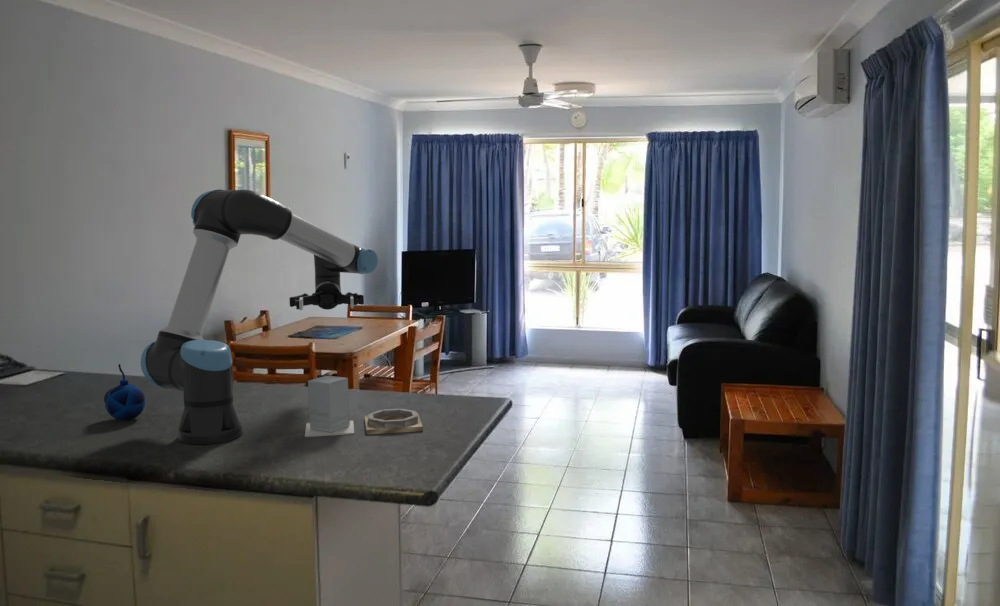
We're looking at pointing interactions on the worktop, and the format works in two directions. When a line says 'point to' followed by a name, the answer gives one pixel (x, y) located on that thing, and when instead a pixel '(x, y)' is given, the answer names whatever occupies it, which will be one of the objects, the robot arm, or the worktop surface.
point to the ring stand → (393, 421)
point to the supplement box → (328, 403)
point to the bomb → (124, 400)
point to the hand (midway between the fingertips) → (326, 304)
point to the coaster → (342, 431)
